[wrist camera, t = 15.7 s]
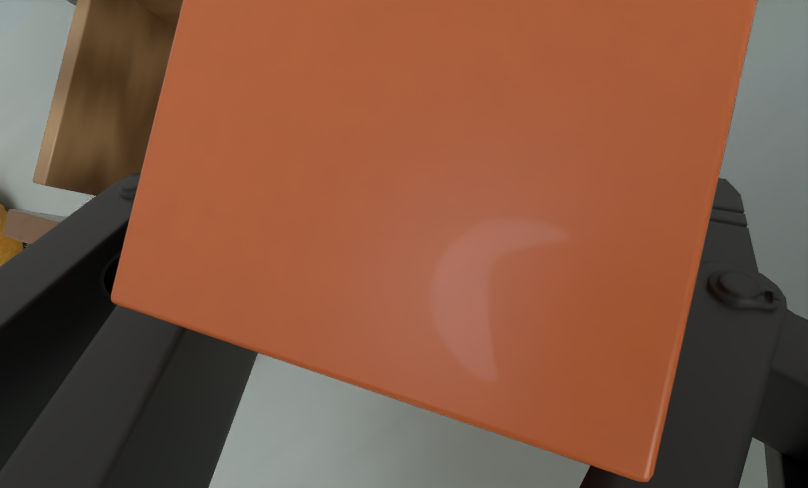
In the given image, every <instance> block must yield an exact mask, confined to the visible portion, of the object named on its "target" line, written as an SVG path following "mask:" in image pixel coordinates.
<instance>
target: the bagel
mask: <svg viewBox="0 0 808 488" xmlns="http://www.w3.org/2000/svg"><path fill="white" fill-rule="evenodd" d="M7 214H8V212H7V211H6V210H5V207H4V206H3V205H2V204H0V266H2V265H3V264H4V263H6V262H7V261H8V260H10V259H11V258H13V257H14V256H15V255H17V254H18V253H19V252H21V251H22V250H23V249H24V248H23V242H21V241H18V240H15V239H12V238H9V237H5V236H3V230H4V226H5V222H6V218H7Z"/></svg>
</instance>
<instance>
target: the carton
mask: <svg viewBox="0 0 808 488" xmlns="http://www.w3.org/2000/svg"><path fill="white" fill-rule="evenodd" d="M757 1H758V0H183V3H182V7H181V11H180V15H179V19H178V24H177V28H176V32H175V36H174V40H173V44H172V48H171V52H170V56H169V60H168V64H167V68H166V72H165V77H164V81H163V85H162V89H161V93H160V97H159V101H158V105H157V109H156V113H155V117H154V121H153V126H152V130H151V134H150V138H149V142H148V146H147V150H146V154H145V158H144V162H143V166H142V170H141V174H140V179H139V183H138V187H137V191H136V195H135V199H134V203H133V207H132V211H131V215H130V219H129V223H128V227H127V232H126V236H125V240H124V244H123V248H122V252H121V256H120V260H119V264H118V268H117V272H116V276H115V281H114V285H113V289H112V293H111V301H112V302H113V303H114V304H117V305H119V306H122V307H125V308H128V309H131V310H134V311H137V312H140V313H143V314H146V315H149V316H152V317H155V318H157V319H160V320H163V321H166V322H169V323H172V324H175V325H178V326H181V327H184V328H187V329H190V330H193V331H196V332H199V333H202V334H205V335H208V336H211V337H213V338H216V339H219V340H222V341H225V342H228V343H231V344H234V345H237V346H240V347H243V348H246V349H249V350H252V351H255V352H258V353H261V354H264V355H267V356H269V357H272V358H275V359H278V360H281V361H284V362H287V363H290V364H293V365H296V366H299V367H302V368H305V369H308V370H311V371H314V372H317V373H320V374H323V375H326V376H328V377H331V378H334V379H337V380H340V381H343V382H346V383H349V384H352V385H355V386H358V387H361V388H364V389H367V390H370V391H373V392H376V393H379V394H382V395H384V396H387V397H390V398H393V399H396V400H399V401H402V402H405V403H408V404H411V405H414V406H417V407H420V408H423V409H426V410H429V411H432V412H435V413H438V414H440V415H443V416H446V417H449V418H452V419H455V420H458V421H461V422H464V423H467V424H470V425H473V426H476V427H479V428H482V429H485V430H488V431H491V432H494V433H496V434H499V435H502V436H505V437H508V438H511V439H514V440H517V441H520V442H523V443H526V444H529V445H532V446H535V447H538V448H541V449H544V450H547V451H550V452H553V453H555V454H558V455H561V456H564V457H567V458H570V459H573V460H576V461H579V462H582V463H585V464H588V465H591V466H594V467H597V468H600V469H603V470H606V471H609V472H611V473H614V474H617V475H620V476H623V477H626V478H629V479H632V480H635V481H638V482H648V481H649V480H650V479H651V477H652V476H653V474H654V470H655V465H656V461H657V456H658V451H659V447H660V442H661V438H662V433H663V429H664V424H665V420H666V415H667V410H668V406H669V401H670V397H671V392H672V388H673V383H674V379H675V374H676V369H677V365H678V360H679V356H680V351H681V347H682V342H683V338H684V333H685V328H686V324H687V319H688V315H689V310H690V306H691V301H692V297H693V292H694V288H695V283H696V278H697V274H698V269H699V265H700V260H701V256H702V251H703V247H704V242H705V237H706V233H707V228H708V224H709V219H710V215H711V210H712V206H713V201H714V196H715V192H716V187H717V183H718V178H719V174H720V169H721V165H722V160H723V155H724V151H725V146H726V142H727V137H728V133H729V128H730V124H731V119H732V114H733V110H734V105H735V101H736V96H737V92H738V87H739V83H740V78H741V73H742V69H743V64H744V60H745V55H746V51H747V46H748V42H749V37H750V32H751V28H752V23H753V19H754V14H755V10H756V5H757Z"/></svg>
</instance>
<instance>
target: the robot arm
mask: <svg viewBox="0 0 808 488" xmlns="http://www.w3.org/2000/svg"><path fill="white" fill-rule="evenodd" d="M140 174H141V172H140V173H134V174H131V175H130V176H128V177H125V178H123V179H121V180H119V181H117V182H116V183H114V184H112V185H111V186H110V187H108V188H107V189H105V190H104V191H103V192H101V193H100V194H99V195H97V196H96V197H94V198H93V199H92V200H90V201H89V202H88V203H86V204H85V205H84V206H82V207H81V208H79V209H78V210H77V211H75V212H74V213H73V214H71V215H70V216H69V217H67V218H66V219H64V220H63V221H62V222H60V223H59V224H58V225H56V226H55V227H54V228H52V229H51V230H49V231H48V232H47V233H45V234H44V235H43V236H41V237H40V238H38V239H37V240H36V241H34V242H33V243H32V244H30V245H29V246H28V247H26V248H25V249H23V250H22V251H21V252H19V253H18V254H17V255H15V256H14V257H13V258H11V259H10V260H8V261H7V262H6V263H4V264H3V265H2V266H0V488H208V487H209V484H210V482H211V479H212V476H213V474H214V471H215V468H216V465H217V463H218V460H219V457H220V454H221V452H222V449H223V446H224V444H225V441H226V438H227V435H228V433H229V430H230V427H231V425H232V422H233V419H234V416H235V414H236V411H237V408H238V405H239V403H240V400H241V397H242V395H243V392H244V389H245V386H246V384H247V381H248V378H249V376H250V373H251V370H252V367H253V365H254V362H255V359H256V356H257V354H258V352H255V351H252V350H249V349H246V348H243V347H240V346H237V345H234V344H231V343H228V342H225V341H222V340H219V339H216V338H213V337H211V336H208V335H205V334H202V333H199V332H196V331H193V330H190V329H187V328H184V327H181V326H178V325H175V324H172V323H169V322H166V321H163V320H160V319H157V318H155V317H152V316H149V315H146V314H143V313H140V312H137V311H134V310H131V309H128V308H125V307H122V306H119V305H117V304H114V303H113V302H112V301H111V293H112V289H113V285H114V281H115V276H116V272H117V268H118V264H119V260H120V256H121V252H122V248H123V244H124V240H125V236H126V232H127V227H128V223H129V219H130V215H131V211H132V207H133V203H134V199H135V195H136V191H137V187H138V183H139V179H140ZM743 213H744V208H743V203H742V199H741V195H740V194H739V193H738V192H737V190H736V189H735V188H734V187H733V186H732V185H731V184H730V183H729V182H728V181H727V180H726V179H722V178H718V183H717V187H716V192H715V196H714V201H713V206H712V210H711V215H710V219H709V224H708V228H707V233H706V237H705V242H704V247H703V251H702V256H701V260H700V265H699V269H698V274H697V278H696V283H695V288H694V292H693V297H692V301H691V306H690V310H689V315H688V319H687V324H686V328H685V333H684V338H683V342H682V347H681V351H680V356H679V360H678V365H677V369H676V374H675V379H674V383H673V388H672V392H671V397H670V401H669V406H668V410H667V415H666V420H665V424H664V429H663V433H662V438H661V442H660V447H659V451H658V456H657V461H656V465H655V470H654V474H653V476H652V477H651V479H650V480H649V481H648V482H638V481H635V480H632V479H629V478H626V477H623V476H620V475H617V474H614V473H611V472H609V471H606V470H603V469H600V468H597V467H594V466H590V468H589V470H588V472H587V474H586V476H585V478H584V480H583V482H582V484H581V485H580V487H579V488H738V487H739V483H740V480H741V476H742V472H743V469H744V465H745V461H746V458H747V454H748V451H749V447H750V443H751V440H752V437H754V438H755V439H757V440H759V441H761V442H763V443H764V445H765V456H766V467H767V477H768V488H808V320H806V319H804V318H802V317H800V316H798V315H796V314H794V313H793V312H791V311H789V310H788V309H787V304H786V298H785V296H784V295H783V293H782V292H781V291H780V289H779V288H778V286H777V285H776V284H774V283H773V282H772V281H770V280H769V279H768V278H767V277H765V276H764V275H763V274H761V273H759V272H758V268H757V264H756V260H755V255H754V251H753V247H752V242H751V238H750V234H749V229H748V228H747V221H746V216H745V214H743Z"/></svg>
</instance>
